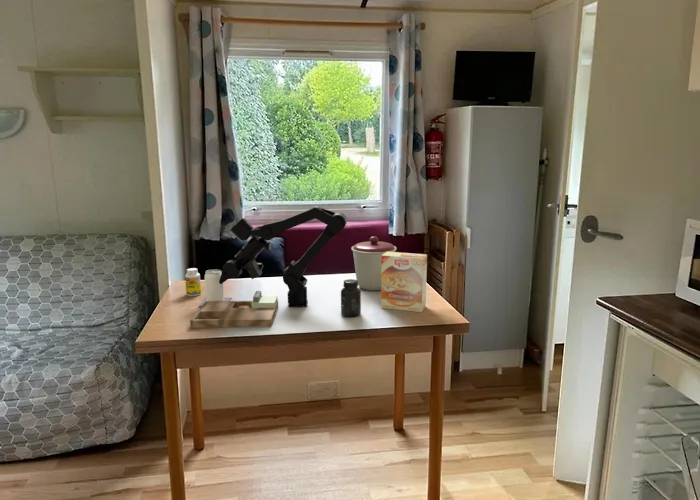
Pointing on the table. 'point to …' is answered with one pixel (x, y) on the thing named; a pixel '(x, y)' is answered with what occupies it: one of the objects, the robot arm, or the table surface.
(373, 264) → the canister
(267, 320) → the puzzle board
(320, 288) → the table surface
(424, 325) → the table surface
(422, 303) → the coffeecake box
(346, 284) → the supplement bottle
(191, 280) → the supplement bottle
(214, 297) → the can
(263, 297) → the cover
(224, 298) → the mat
